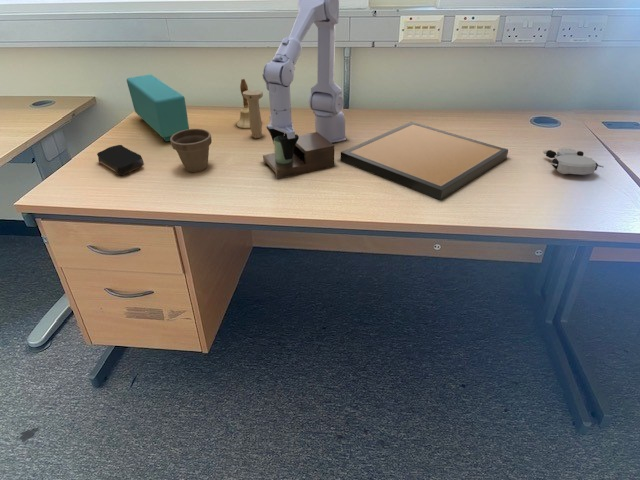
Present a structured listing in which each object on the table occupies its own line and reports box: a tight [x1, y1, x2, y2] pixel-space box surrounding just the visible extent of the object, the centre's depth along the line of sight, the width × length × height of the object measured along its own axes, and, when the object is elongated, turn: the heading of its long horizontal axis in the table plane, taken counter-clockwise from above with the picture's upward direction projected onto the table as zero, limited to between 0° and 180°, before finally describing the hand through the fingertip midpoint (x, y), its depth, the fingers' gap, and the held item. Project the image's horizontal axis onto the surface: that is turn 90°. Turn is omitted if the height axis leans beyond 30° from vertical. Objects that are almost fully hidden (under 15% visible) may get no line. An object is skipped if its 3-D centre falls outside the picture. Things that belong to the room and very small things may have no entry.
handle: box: [242, 89, 264, 139], centre depth 151 cm, size 5×6×15 cm
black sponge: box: [96, 144, 145, 176], centre depth 137 cm, size 16×8×4 cm, turn 46°
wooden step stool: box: [262, 131, 335, 180], centre depth 135 cm, size 18×12×7 cm, turn 115°
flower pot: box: [169, 128, 212, 173], centre depth 133 cm, size 12×11×10 cm
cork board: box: [340, 121, 509, 201], centre depth 137 cm, size 36×3×35 cm
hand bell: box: [236, 78, 251, 129], centre depth 161 cm, size 8×8×16 cm
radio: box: [126, 73, 190, 142], centre depth 160 cm, size 34×10×15 cm, turn 34°
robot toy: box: [542, 147, 604, 176], centre depth 130 cm, size 12×4×15 cm
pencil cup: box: [273, 136, 293, 164], centre depth 132 cm, size 5×5×6 cm
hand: (283, 154), depth 133 cm, fingers open, 7 cm apart
